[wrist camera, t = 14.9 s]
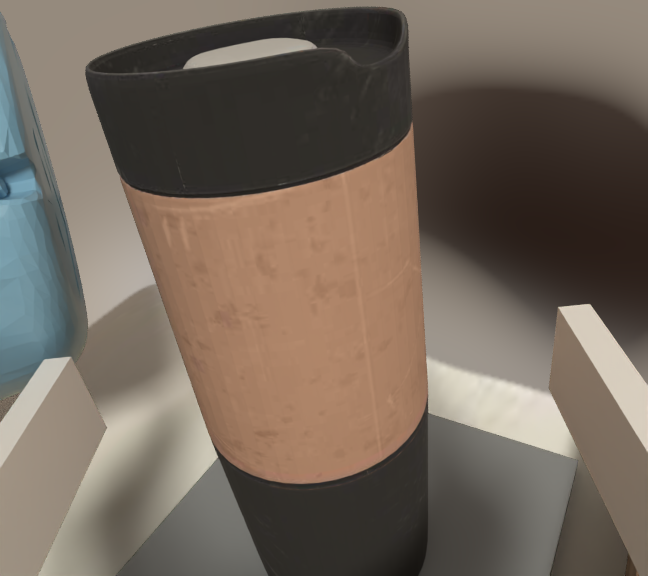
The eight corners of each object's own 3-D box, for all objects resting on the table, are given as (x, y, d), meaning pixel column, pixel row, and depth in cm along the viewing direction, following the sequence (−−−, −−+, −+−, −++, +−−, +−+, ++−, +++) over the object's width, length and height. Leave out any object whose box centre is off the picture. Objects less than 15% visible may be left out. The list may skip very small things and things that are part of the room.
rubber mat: (83, 626, 22) (78, 618, 22) (295, 378, 33) (293, 371, 33) (463, 922, 14) (463, 918, 14) (576, 468, 25) (578, 460, 25)
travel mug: (252, 484, 26) (109, 41, 16) (404, 449, 27) (367, -3, 16) (263, 655, 20) (30, 100, 9) (462, 605, 20) (466, 23, 10)
